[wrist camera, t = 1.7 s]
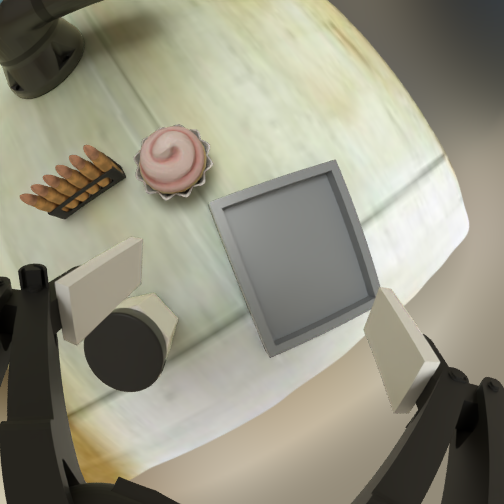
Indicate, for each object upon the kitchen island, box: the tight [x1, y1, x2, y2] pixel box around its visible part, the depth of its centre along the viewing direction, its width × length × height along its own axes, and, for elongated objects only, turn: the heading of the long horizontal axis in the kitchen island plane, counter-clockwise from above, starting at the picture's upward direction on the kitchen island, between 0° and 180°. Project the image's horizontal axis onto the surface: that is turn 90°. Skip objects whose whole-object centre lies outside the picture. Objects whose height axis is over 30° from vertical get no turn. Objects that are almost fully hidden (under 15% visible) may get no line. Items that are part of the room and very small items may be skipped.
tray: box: [208, 160, 380, 358], centre depth 38 cm, size 20×17×3 cm
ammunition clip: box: [20, 145, 126, 219], centre depth 29 cm, size 11×2×12 cm, turn 121°
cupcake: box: [133, 124, 213, 200], centre depth 32 cm, size 9×9×10 cm
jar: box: [84, 293, 178, 392], centre depth 30 cm, size 9×8×12 cm
